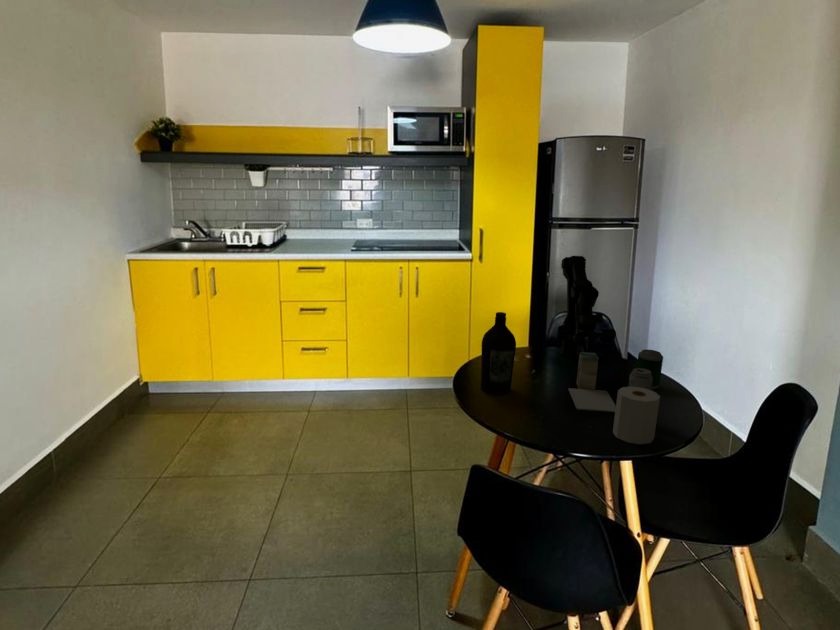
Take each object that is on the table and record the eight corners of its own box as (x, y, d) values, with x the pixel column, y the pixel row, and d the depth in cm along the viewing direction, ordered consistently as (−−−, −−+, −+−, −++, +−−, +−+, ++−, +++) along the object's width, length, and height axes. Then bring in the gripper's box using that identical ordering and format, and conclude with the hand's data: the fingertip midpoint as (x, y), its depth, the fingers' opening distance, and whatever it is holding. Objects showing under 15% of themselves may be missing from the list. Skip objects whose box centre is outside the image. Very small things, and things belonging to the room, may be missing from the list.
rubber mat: (568, 389, 184) (568, 388, 184) (606, 391, 183) (606, 390, 183) (576, 409, 168) (577, 408, 168) (618, 412, 167) (618, 411, 167)
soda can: (662, 391, 185) (667, 356, 182) (638, 390, 185) (643, 355, 182) (653, 383, 192) (658, 349, 189) (631, 382, 192) (635, 348, 189)
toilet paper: (605, 428, 157) (610, 387, 154) (639, 426, 159) (644, 385, 156) (626, 446, 147) (632, 402, 144) (661, 443, 149) (668, 399, 146)
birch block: (576, 383, 189) (579, 352, 186) (591, 384, 189) (595, 352, 186) (579, 389, 184) (582, 356, 182) (594, 390, 184) (598, 357, 181)
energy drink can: (641, 427, 158) (649, 376, 154) (620, 420, 162) (627, 370, 158) (649, 420, 162) (656, 371, 159) (628, 414, 166) (635, 365, 162)
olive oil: (475, 383, 186) (480, 308, 180) (507, 383, 187) (512, 309, 181) (483, 396, 176) (488, 317, 169) (516, 395, 177) (523, 317, 171)
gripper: (560, 301, 189) (562, 343, 181) (618, 305, 187) (622, 347, 179) (554, 319, 198) (556, 359, 190) (610, 322, 197) (613, 363, 189)
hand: (586, 357), depth 187 cm, fingers closed
